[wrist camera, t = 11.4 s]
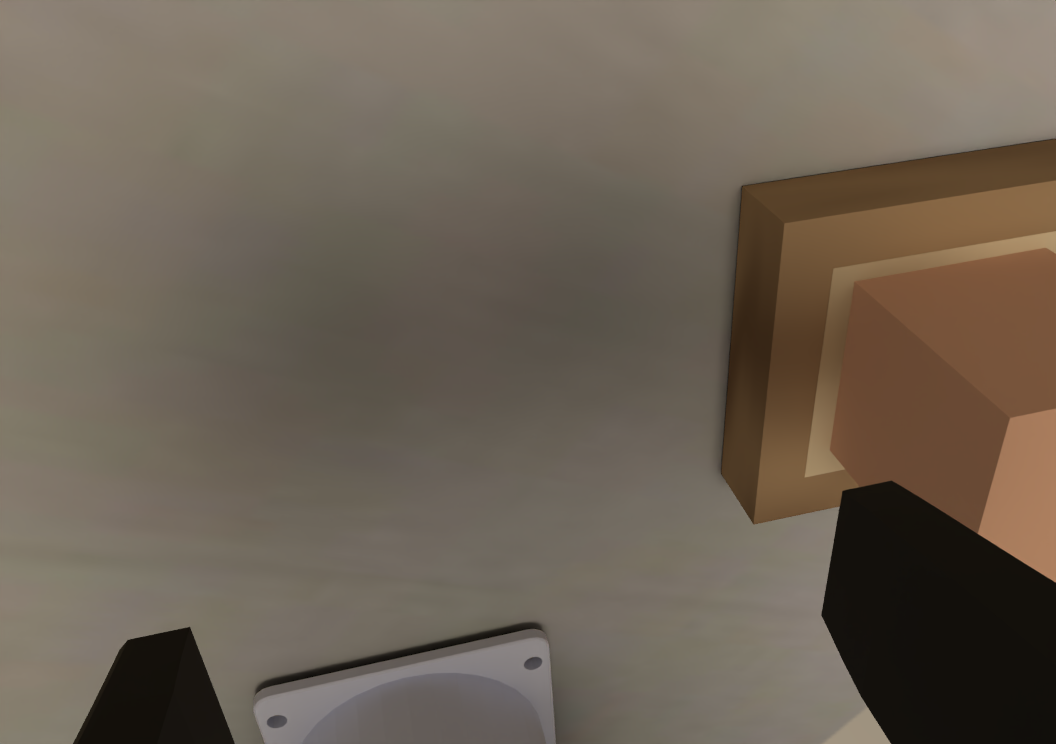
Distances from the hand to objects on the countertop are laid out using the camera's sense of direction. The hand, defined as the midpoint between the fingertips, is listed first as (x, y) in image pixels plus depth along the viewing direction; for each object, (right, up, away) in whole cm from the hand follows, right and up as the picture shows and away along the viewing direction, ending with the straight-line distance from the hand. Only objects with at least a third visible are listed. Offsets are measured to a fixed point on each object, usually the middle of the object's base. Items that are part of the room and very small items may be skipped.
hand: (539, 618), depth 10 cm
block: (+9, +3, +11) cm, 14 cm away
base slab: (+9, +4, +12) cm, 16 cm away
